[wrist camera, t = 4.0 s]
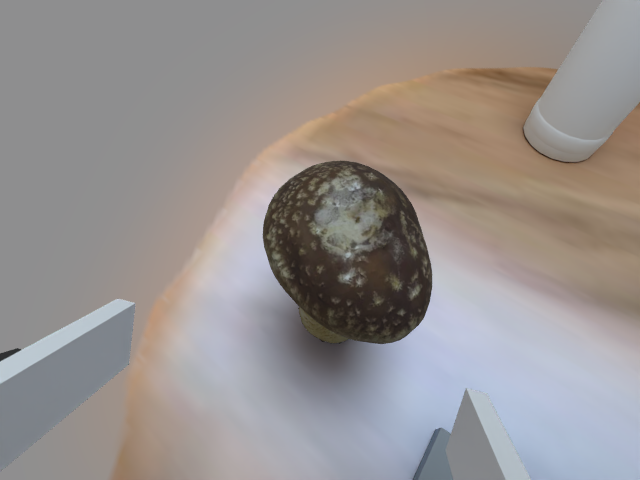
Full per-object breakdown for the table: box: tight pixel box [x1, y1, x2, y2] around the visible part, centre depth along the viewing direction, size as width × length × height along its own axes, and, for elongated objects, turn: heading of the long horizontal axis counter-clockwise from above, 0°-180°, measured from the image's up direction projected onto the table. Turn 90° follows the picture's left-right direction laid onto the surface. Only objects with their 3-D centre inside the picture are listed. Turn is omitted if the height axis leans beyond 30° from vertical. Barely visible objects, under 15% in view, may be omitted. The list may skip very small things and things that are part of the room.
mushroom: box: [263, 161, 432, 344], centre depth 24 cm, size 9×9×15 cm
